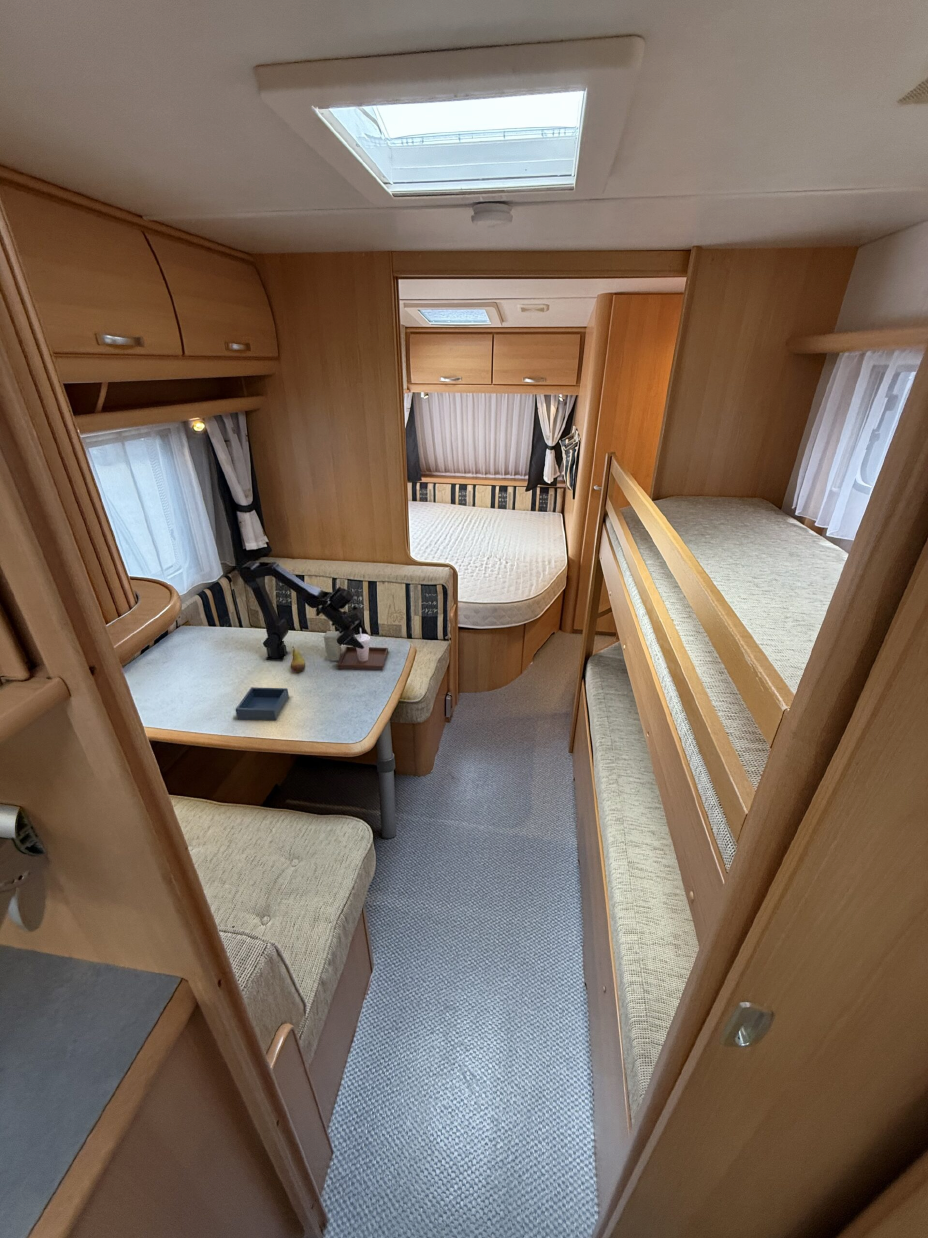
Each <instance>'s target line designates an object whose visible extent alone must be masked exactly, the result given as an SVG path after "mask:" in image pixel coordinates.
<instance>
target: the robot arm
mask: <svg viewBox="0 0 928 1238" xmlns="http://www.w3.org/2000/svg"><path fill="white" fill-rule="evenodd" d="M238 575H239V577H240V579H241V580H242V582H243V583H244V584H245V585H246V586H247V587H248V588H249V589H251V591H252V594H253V596H254V598H255V601H256V603H257V605H258V607H259V610H260V612H261V614H262V616H263V619H264V621H265V624H266V625H265V633H266V635H267V637H265V639H264V640H263V642H262V645H263V647H264V648H265V649H266V654H267V655H266V656H267V657H266V658H265V660H266V661H283V660H284V659H285V657H286V656H287V654H288V650H287V649H288V648H287V644H285V641H284V639H285V638H286V636H287V635H288V634H289V628H290V626H289V625H288V623H287V619H286V618H283V619H282V618H281V617H279V615H278V613H277V611H276V608H275V606H274V604H273V602H272V599H271V596H270V595H269V592H268V590H267V588H266V585H265V578H266V577H272V578H274V579H275V580H276V581H278V582H280V583H281V584H282V585H284V586H285V587H287V588H289V589H290V590H291V591H293V592H294V593H296V594H297V595H298V596H299V597H300V599H301V600H302V602H303V603H304V604H305V605H306V606H307V607H309V608H310V609H315V616H316V617H319V616H320V615H321V614H322V615H323V617H325V618H326V620H328V621H330V622H331V623H330V624H331V627H334V626H335V627H336V628H337V629H339V634H340V635H339V636H338V638H337V639H336V640H337V643H338V644H339V645H340V646H341V647H342V646H348V647H356V648H360V649H363V648H364V646H363V645H362V644H361V643H360V642H359V641H358V640H357V639H356V637H355V636H356V633H357V634H360V628H361V633H362V634H367V635H369V636H370V634H369V632H368V630H367V629H366V627H365V626H364V622H363V621H364V617H363V616H364V612H363V608H362V607H361V606H360V605H358V604H355V605H353V606H352V607H351V610H349V611H347V610H343V609H344V608H345V607H347V606H348V604H350V602H352V601H353V600H354V595H353V593H352V592H350V590H349V589H346V588H344V587H342V586H338V587H337V588H336V589H335V590H334V592H331V591H325V590H323V589H321V588H320V587H318V586H315V585H312V584H308V583H306V582H304V581H303V580H301V579H299V577H297V576H295V575H294V574H293V573H291V571H289V570H287V569H286V568H284V567H282V566H281V565H280V564H279V563H278V562H276V561H272V562H270V561H269V562H268V561H255V560H250V561H248V562H247V563H245V564H244V565H243V566H242V567H240V568H239V571H238ZM355 632H356V633H355ZM370 637H371V636H370Z"/></svg>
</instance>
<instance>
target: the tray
mask: <svg viewBox="0 0 928 1238" xmlns="http://www.w3.org/2000/svg"><path fill="white" fill-rule="evenodd" d="M388 655H389V647H377V646H374V647H373V646H369V654H368V660H367V661H359V658H358V654H357V650H356V647H353V646H348V645H345V648H344V650H343V651H342V656H341V658H340V660H339V661H337V662H338V663H337V670H353V671H384V667H385V664H386V661H387V658H388Z"/></svg>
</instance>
